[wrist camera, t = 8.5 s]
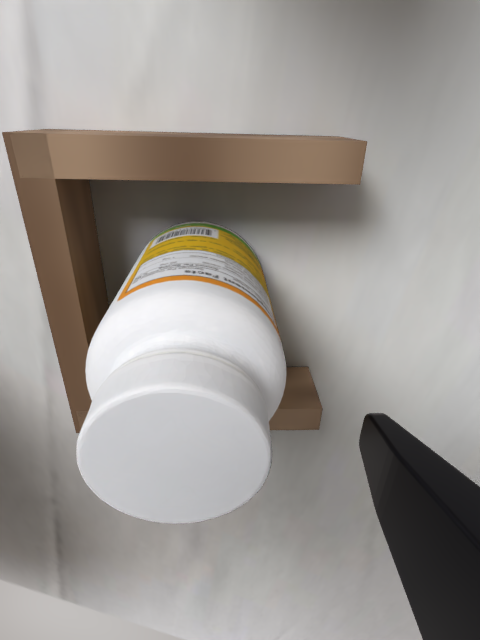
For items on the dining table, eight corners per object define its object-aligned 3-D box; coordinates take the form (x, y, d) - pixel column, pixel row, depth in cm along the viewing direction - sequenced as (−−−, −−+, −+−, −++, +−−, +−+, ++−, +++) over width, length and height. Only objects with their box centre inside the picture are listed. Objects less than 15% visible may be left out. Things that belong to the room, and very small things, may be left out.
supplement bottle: (210, 355, 18) (199, 571, 9) (112, 289, 16) (-12, 481, 8) (289, 274, 16) (363, 450, 8) (188, 189, 14) (138, 296, 6)
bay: (339, 136, 14) (367, 141, 11) (305, 386, 19) (319, 429, 16) (45, 129, 13) (1, 132, 11) (96, 387, 19) (76, 432, 16)
